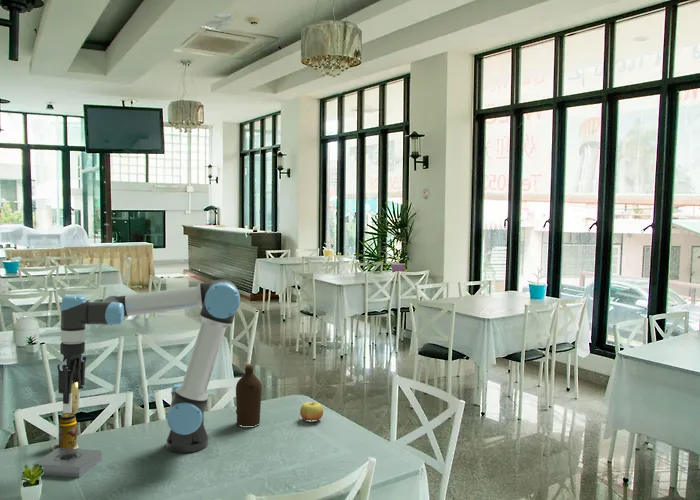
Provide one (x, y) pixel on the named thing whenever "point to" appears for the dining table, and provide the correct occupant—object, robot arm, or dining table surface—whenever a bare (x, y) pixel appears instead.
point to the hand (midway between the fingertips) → (71, 410)
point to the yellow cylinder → (74, 396)
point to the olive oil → (248, 398)
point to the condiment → (67, 432)
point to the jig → (69, 462)
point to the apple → (311, 411)
